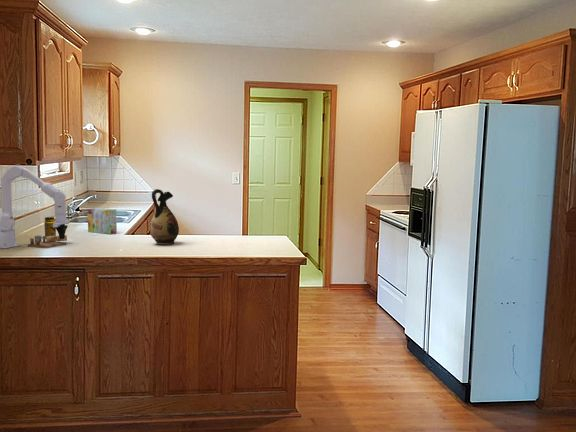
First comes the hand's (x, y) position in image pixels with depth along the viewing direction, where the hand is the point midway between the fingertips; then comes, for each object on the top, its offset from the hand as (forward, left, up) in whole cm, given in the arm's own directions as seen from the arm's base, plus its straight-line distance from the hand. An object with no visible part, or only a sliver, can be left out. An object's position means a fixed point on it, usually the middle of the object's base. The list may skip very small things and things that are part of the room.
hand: (62, 238), depth 312 cm
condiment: (+14, +26, -3) cm, 30 cm away
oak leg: (0, +4, -1) cm, 5 cm away
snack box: (+42, +11, -3) cm, 43 cm away
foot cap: (-3, +15, -3) cm, 16 cm away
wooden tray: (-7, +4, -3) cm, 8 cm away
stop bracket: (+3, +12, -3) cm, 13 cm away
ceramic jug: (+23, -51, -3) cm, 56 cm away
